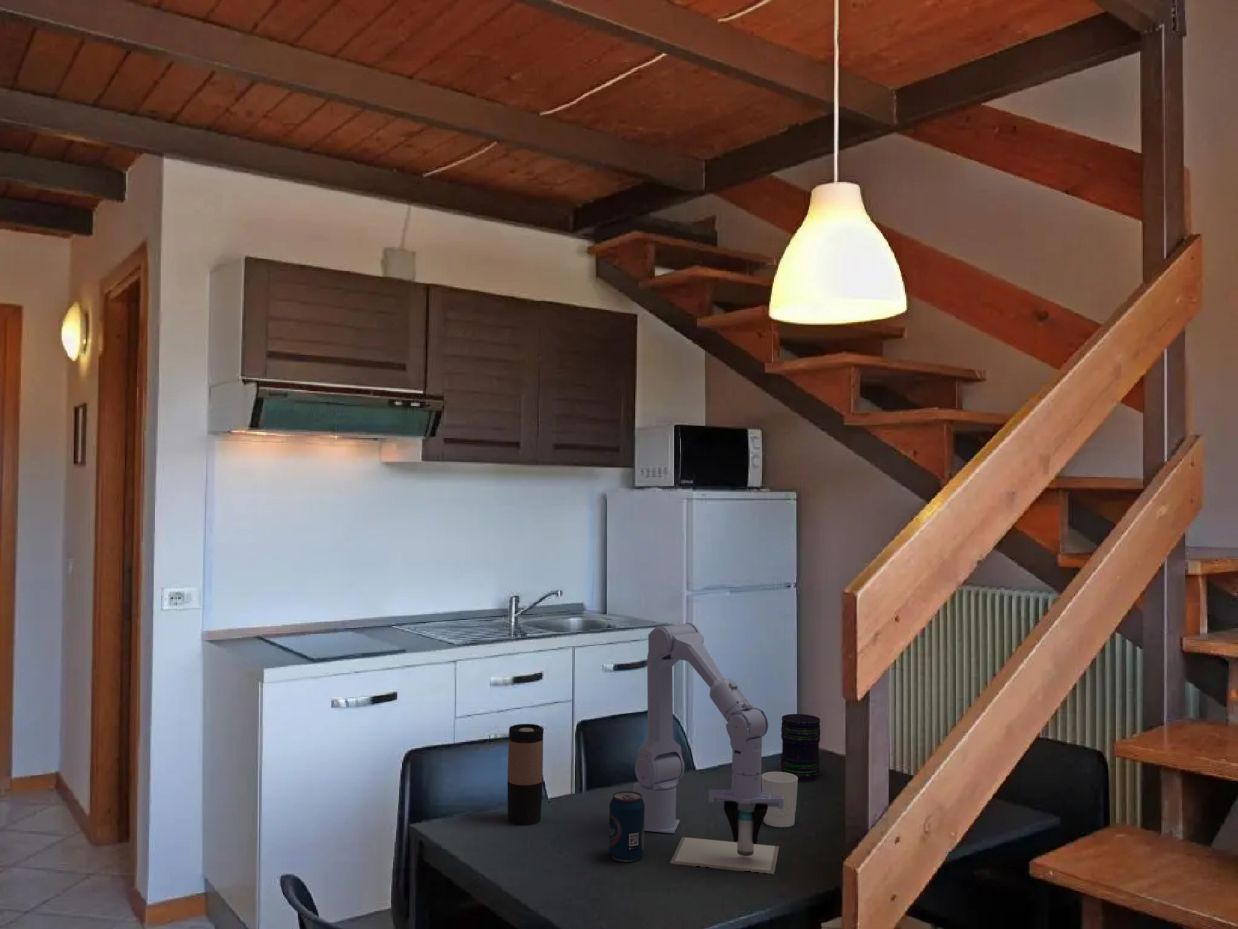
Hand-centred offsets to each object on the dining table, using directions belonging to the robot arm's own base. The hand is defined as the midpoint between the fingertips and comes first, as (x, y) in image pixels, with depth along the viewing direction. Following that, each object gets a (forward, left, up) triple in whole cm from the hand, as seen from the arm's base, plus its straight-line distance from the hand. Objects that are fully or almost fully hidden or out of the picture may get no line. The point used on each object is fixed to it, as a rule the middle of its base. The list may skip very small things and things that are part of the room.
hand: (745, 841), depth 195 cm
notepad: (-4, +2, -4) cm, 6 cm away
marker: (0, 0, -2) cm, 2 cm away
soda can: (-23, -4, -4) cm, 24 cm away
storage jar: (+8, +62, -4) cm, 63 cm away
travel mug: (-49, +11, -4) cm, 50 cm away
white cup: (+5, +25, -4) cm, 26 cm away
